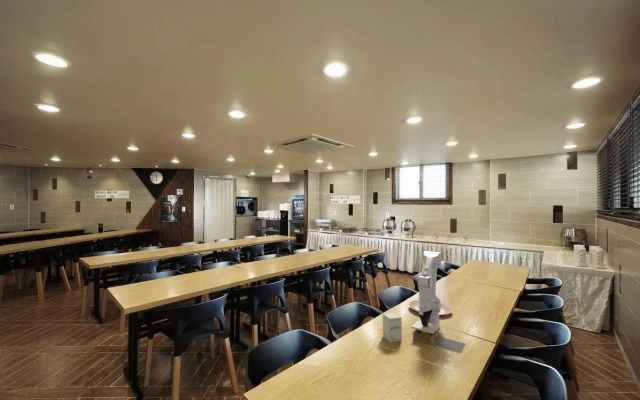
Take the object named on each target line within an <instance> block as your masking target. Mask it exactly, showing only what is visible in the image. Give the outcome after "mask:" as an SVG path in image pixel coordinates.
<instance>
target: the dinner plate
mask: <svg viewBox="0 0 640 400" xmlns="http://www.w3.org/2000/svg"><path fill="white" fill-rule="evenodd" d="M440 304H441V310H440V312H439V317H440V315H441V316H445V315H446V316H447V315H449V314H451V313H452V312H453V309H452V308H451V307H450V306H449V305H446V304H445V303H441V302H440ZM418 305H419V299H418V300H411V301H410V302H409V303H408V306H409V307H410V309H412V310H413V311H416V312H417V313H418V311H419V308H418V307H417V306H418Z"/></svg>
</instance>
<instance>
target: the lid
mask: <svg viewBox="0 0 640 400" xmlns="http://www.w3.org/2000/svg"><path fill="white" fill-rule="evenodd" d="M439 325H440V324H439ZM439 325H436V324H432V323H429V324H428V319H427V326H423V325H422V323H421V319H418V320H417V321H416V322H415V323H414V324H412V325H411V329H414V330H416V329H417V330H421V331H424V332H428V333H432V334H433V333H434V332H435V331H436V330H437V329H438V328H439ZM439 329H440V328H439ZM439 329H438V330H439ZM438 330H437V331H438Z"/></svg>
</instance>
